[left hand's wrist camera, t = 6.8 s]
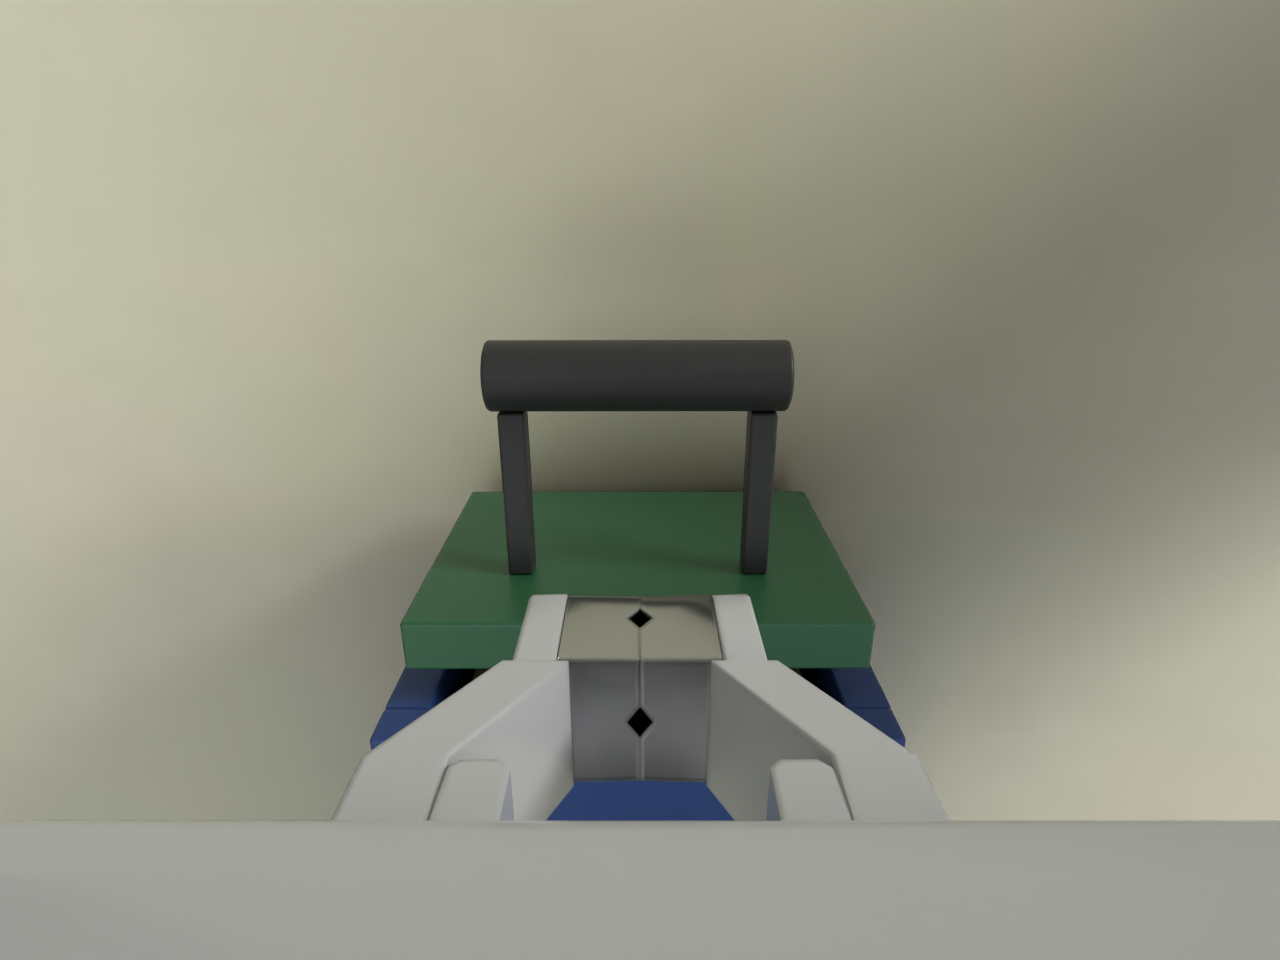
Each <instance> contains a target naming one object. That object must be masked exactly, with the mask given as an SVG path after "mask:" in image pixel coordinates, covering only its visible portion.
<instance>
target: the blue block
mask: <svg viewBox="0 0 1280 960" xmlns="http://www.w3.org/2000/svg"><path fill="white" fill-rule="evenodd" d="M475 671H476V669H408V668H407V667H405V669H404V671H403V673H402V675H401V677H400V679H399V681H398V683H397V685H396V687H395V689H394V691H393V693H392V695H391V697H390V699H389V701H388V703H387V706H386V710H385V711H384V712H383V714H382V716H381V718H380V720H379V722H378V724H377V726H376V729H375V731H374V733H373V735H372V737H371V739H370V744H371V750H372V749H374V748H375V747H377V746H378V745H380V744H381V743H383V742H384V741H385V740H387V739H388V738H390V737H391V736H393V735H394V734H396V733H397V732H399V731H400V730H402V729H403V728H404V727H406V726H407V725H409V724H410V723H412V722H413V721H415V720H416V719H418V718H419V717H421V716H422V715H423V714H425V713H426V712H428V711H429V710H431V709H432V708H434V707H435V706H437V705H438V704H439V703H441V702H442V701H444V700H445V699H447V698H448V697H450V696H451V695H453V694H454V693H456V692H457V691H458V690H460V689H461V688H463V687H464V686H466V685H467V684H469V683H470V682H472V679H473V676H474V673H475ZM800 671H801V674H802V677H803V678H804V679H805V680H807V681H808V682H810V683H811V684H813V685H814V686H816V687H817V688H819V689H820V690H821V691H823V692H824V693H826V694H827V695H829V696H830V697H832V698H833V699H834V700H836V701H837V702H839V703H840V704H842V705H843V706H845V707H846V708H848V709H849V710H850V711H852V712H853V713H855V714H856V715H858V716H859V717H861V718H862V719H864V720H865V721H866V722H868V723H869V724H871V725H872V726H874V727H875V728H877V729H878V730H879V731H881V732H882V733H884V734H885V735H887V736H888V737H890V738H891V739H893V740H894V741H895V742H897V743H898V744H900V745H901V746H903V747H905V740H906V739H905V737H904V735H903V733H902V731H901V729H900V726H899V724H898V722H897V720H896V718H895V716H894V714H893V712H892V710H891V709H890V705H889V703H888V701H887V699H886V697H885V694H884V692H883V690H882V688H881V686H880V684H879V682H878V680H877V678H876V676H875V674H874V672H873V670H872V668H871V666H870V665H869V668H800ZM546 821H734V819H733V818H732V817H731V816H730V814H729V813H728V812H727V811H726V809H725V808H724V807H723V806H722V804H721V803H720V802H719V801H718V799H717V798H716V797H715V796H714V794H713V793H712V792H711V791H710V789H709V788H708V787H707V786H706V782H673V781H606V782H574V786H573V788H572V789H571V790H570V791H569V793H568V794H567V795H566V796H565V798H564V799H563V800H562V801H561V803H560V804H559V805H558V806H557V807H556V809H555V810H554V811H553V812H552V814H551V815H550V816H549V817H548V819H547V820H546Z"/></svg>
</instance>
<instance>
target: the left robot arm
mask: <svg viewBox="0 0 1280 960" xmlns="http://www.w3.org/2000/svg"><path fill="white" fill-rule="evenodd" d="M606 781H673V782H706V786H707V787H708V788H709V789H710V791H711V792H712V793H713V794H714V796H715V797H716V798H717V799H718V801H719V802H720V803H721V804H722V806H723V807H724V808H725V809H726V811H727V812H728V813H729V814H730V816H731V817H732V818H733V819H734V821H546V820H547V819H548V817H549V816H550V815H551V814H552V812H553V811H554V810H555V809H556V807H557V806H558V805H559V804H560V803H561V801H562V800H563V799H564V798H565V796H566V795H567V794H568V793H569V791H570V790H571V789H572V788H573V786H574V782H606ZM0 960H1280V821H949V819H948V817H947V815H946V813H945V811H944V809H943V806H942V804H941V802H940V800H939V798H938V796H937V794H936V792H935V790H934V788H933V786H932V784H931V782H930V780H929V778H928V776H927V774H926V772H925V770H924V768H923V766H922V764H921V761H920V759H919V757H917V756H916V755H914V754H913V753H911V752H910V751H909V750H907V749H906V748H904V747H903V746H901V745H900V744H898V743H897V742H895V741H894V740H893V739H891V738H890V737H888V736H887V735H885V734H884V733H882V732H881V731H879V730H878V729H877V728H875V727H874V726H872V725H871V724H869V723H868V722H866V721H865V720H864V719H862V718H861V717H859V716H858V715H856V714H855V713H853V712H852V711H850V710H849V709H848V708H846V707H845V706H843V705H842V704H840V703H839V702H837V701H836V700H834V699H833V698H832V697H830V696H829V695H827V694H826V693H824V692H823V691H821V690H820V689H819V688H817V687H816V686H814V685H813V684H811V683H810V682H808V681H807V680H805V679H804V678H803V677H801V676H800V675H798V674H797V673H795V672H794V671H792V670H791V669H789V668H788V667H787V666H785V665H784V664H782V663H781V662H779V661H778V660H767V657H766V653H765V650H764V646H763V643H762V639H761V635H760V632H759V628H758V624H757V621H756V617H755V614H754V610H753V606H752V603H751V599H750V596H748V595H747V594H729V595H683V596H642V597H640V596H615V595H569V596H568V595H567V594H541V595H533V596H531V597H530V598H529V602H528V606H527V609H526V613H525V617H524V620H523V624H522V628H521V631H520V635H519V639H518V642H517V646H516V650H515V653H514V657H513V660H502V661H501V662H499V663H498V664H496V665H495V666H493V667H492V668H491V669H489V670H488V671H486V672H485V673H483V674H482V675H480V676H479V677H477V678H476V679H474V680H473V681H472V682H470V683H469V684H467V685H466V686H464V687H463V688H461V689H460V690H458V691H457V692H456V693H454V694H453V695H451V696H450V697H448V698H447V699H445V700H444V701H442V702H441V703H439V704H438V705H437V706H435V707H434V708H432V709H431V710H429V711H428V712H426V713H425V714H423V715H422V716H421V717H419V718H418V719H416V720H415V721H413V722H412V723H410V724H409V725H407V726H406V727H404V728H403V729H402V730H400V731H399V732H397V733H396V734H394V735H393V736H391V737H390V738H388V739H387V740H385V741H384V742H383V743H381V744H380V745H378V746H377V747H375V748H374V749H372V750H371V751H369V752H368V753H367V754H365V755H364V756H362V758H361V760H360V762H359V764H358V766H357V768H356V770H355V772H354V774H353V776H352V778H351V780H350V782H349V784H348V786H347V788H346V791H345V793H344V795H343V797H342V799H341V801H340V803H339V805H338V807H337V809H336V811H335V813H334V815H333V817H332V819H331V821H218V820H160V821H0Z"/></svg>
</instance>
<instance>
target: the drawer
mask: <svg viewBox="0 0 1280 960" xmlns="http://www.w3.org/2000/svg"><path fill="white" fill-rule="evenodd" d="M480 375H481V389H482V396H483V400H484V403H485V406H486V408H487V409H488V410H489V411H499V413H498V415H497V419H498V432H499V446H500V459H501V473H502V486H503V492H473V493H472V495H471V496H470V498H469V500H468V502H467V504H466V505H465V507H464V509H463V511H462V513H461V515H460V516H459V518H458V520H457V522H456V524H455V525H454V527H453V529H452V531H451V533H450V535H449V536H448V538H447V540H446V542H445V544H444V545H443V547H442V549H441V551H440V553H439V554H438V556H437V558H436V560H435V562H434V564H433V565H432V567H431V569H430V571H429V573H428V574H427V576H426V578H425V580H424V582H423V584H422V585H421V587H420V589H419V591H418V593H417V594H416V596H415V598H414V600H413V602H412V604H411V605H410V607H409V609H408V611H407V613H406V614H405V616H404V618H403V620H402V622H401V624H400V626H401V634H402V641H403V648H404V655H405V662H406V667H407V668H408V669H476V671H475V673H474V676H473V679H472V681H473V680H474V679H476V678H477V677H479V676H480V675H482V674H483V673H485V672H486V671H488V670H489V669H491V668H492V667H493V666H495V665H496V664H498V663H499V662H501V661H502V660H513V657H514V653H515V650H516V646H517V642H518V639H519V635H520V631H521V628H522V624H523V620H524V617H525V613H526V609H527V606H528V602H529V598H530V597H531V596H533V595H541V594H567V595H568V596H569V595H615V596H640V597H642V596H683V595H729V594H747V595H748V596H750V599H751V603H752V606H753V610H754V614H755V617H756V621H757V624H758V628H759V632H760V635H761V639H762V643H763V646H764V650H765V653H766V657H767V660H778V661H779V662H781V663H782V664H784V665H785V666H787V667H788V668H789V669H791V670H792V671H794V672H795V673H797V674H798V675H800V676H801V677H802V674H801V671H800V668H869V665H870V658H871V651H872V643H873V636H874V629H875V623H874V620H873V619H872V617H871V615H870V613H869V611H868V609H867V608H866V606H865V604H864V602H863V600H862V598H861V596H860V595H859V593H858V591H857V589H856V587H855V585H854V584H853V582H852V580H851V578H850V576H849V574H848V573H847V571H846V569H845V567H844V565H843V563H842V562H841V560H840V558H839V556H838V554H837V552H836V551H835V549H834V547H833V545H832V543H831V541H830V539H829V538H828V536H827V534H826V532H825V530H824V528H823V527H822V525H821V523H820V521H819V519H818V517H817V516H816V514H815V512H814V510H813V508H812V506H811V505H810V503H809V501H808V499H807V497H806V495H805V494H804V492H772V491H773V476H774V462H775V448H776V433H777V419H778V415H777V413H776V411H785V410H787V409H788V408H789V405H790V403H791V399H792V394H793V386H794V357H793V351H792V347H791V344H790V342H789V341H787V340H489V341H487V342H485V344H484V347H483V350H482V355H481V368H480ZM527 411H748V416H747V434H746V453H745V471H744V489H743V492H532V482H531V465H530V448H529V431H528V414H527Z"/></svg>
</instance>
